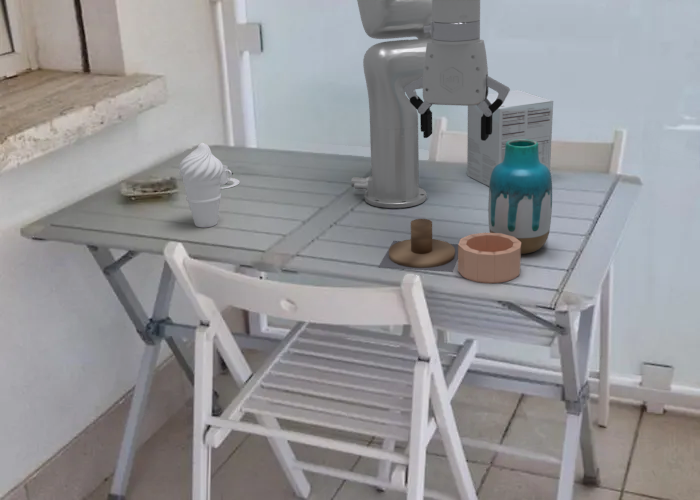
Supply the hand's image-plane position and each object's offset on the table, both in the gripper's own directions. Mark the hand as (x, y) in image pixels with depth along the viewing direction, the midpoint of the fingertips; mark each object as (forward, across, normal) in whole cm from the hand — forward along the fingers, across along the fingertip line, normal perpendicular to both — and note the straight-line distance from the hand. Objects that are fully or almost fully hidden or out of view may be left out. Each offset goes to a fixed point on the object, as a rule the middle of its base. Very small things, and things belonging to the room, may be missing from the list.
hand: (456, 137), depth 156 cm
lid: (+20, -5, -4) cm, 21 cm away
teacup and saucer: (+20, -60, +30) cm, 70 cm away
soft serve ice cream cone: (+20, -50, +2) cm, 54 cm away
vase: (+21, +10, +3) cm, 23 cm away
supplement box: (+20, +1, +44) cm, 49 cm away
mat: (+20, -5, -4) cm, 21 cm away
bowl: (+20, +8, -8) cm, 23 cm away
